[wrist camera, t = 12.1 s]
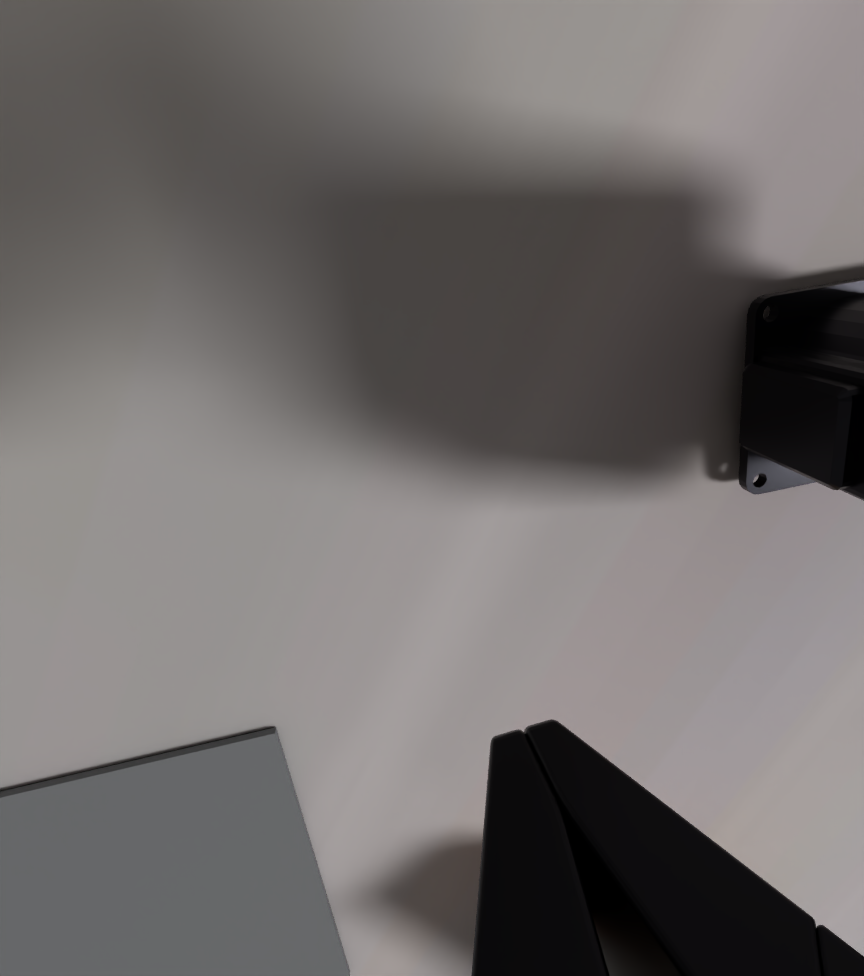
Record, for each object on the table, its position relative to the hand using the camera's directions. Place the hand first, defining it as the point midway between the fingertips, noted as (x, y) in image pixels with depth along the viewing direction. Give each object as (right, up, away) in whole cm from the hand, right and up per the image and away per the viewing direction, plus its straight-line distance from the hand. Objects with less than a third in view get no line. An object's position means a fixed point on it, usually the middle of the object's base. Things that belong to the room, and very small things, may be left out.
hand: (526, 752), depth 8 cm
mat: (-12, -13, +16) cm, 24 cm away
